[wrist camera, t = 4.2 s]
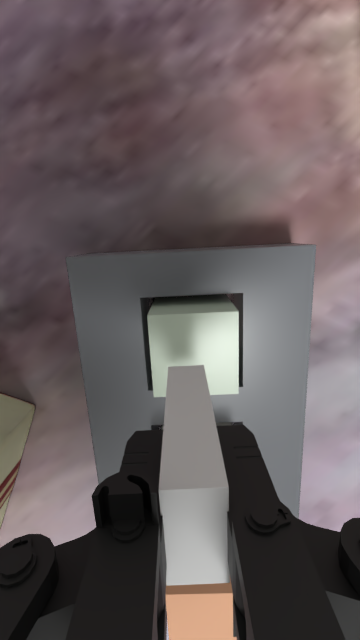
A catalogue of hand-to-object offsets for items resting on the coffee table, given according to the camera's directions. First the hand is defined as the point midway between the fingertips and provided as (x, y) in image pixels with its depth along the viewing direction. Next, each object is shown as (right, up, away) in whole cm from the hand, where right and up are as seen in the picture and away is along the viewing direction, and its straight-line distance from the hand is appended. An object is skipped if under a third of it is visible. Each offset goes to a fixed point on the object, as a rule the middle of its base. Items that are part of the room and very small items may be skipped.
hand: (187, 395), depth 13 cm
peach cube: (+1, -14, +11) cm, 18 cm away
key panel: (+1, -5, +12) cm, 13 cm away
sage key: (0, +3, +8) cm, 9 cm away
